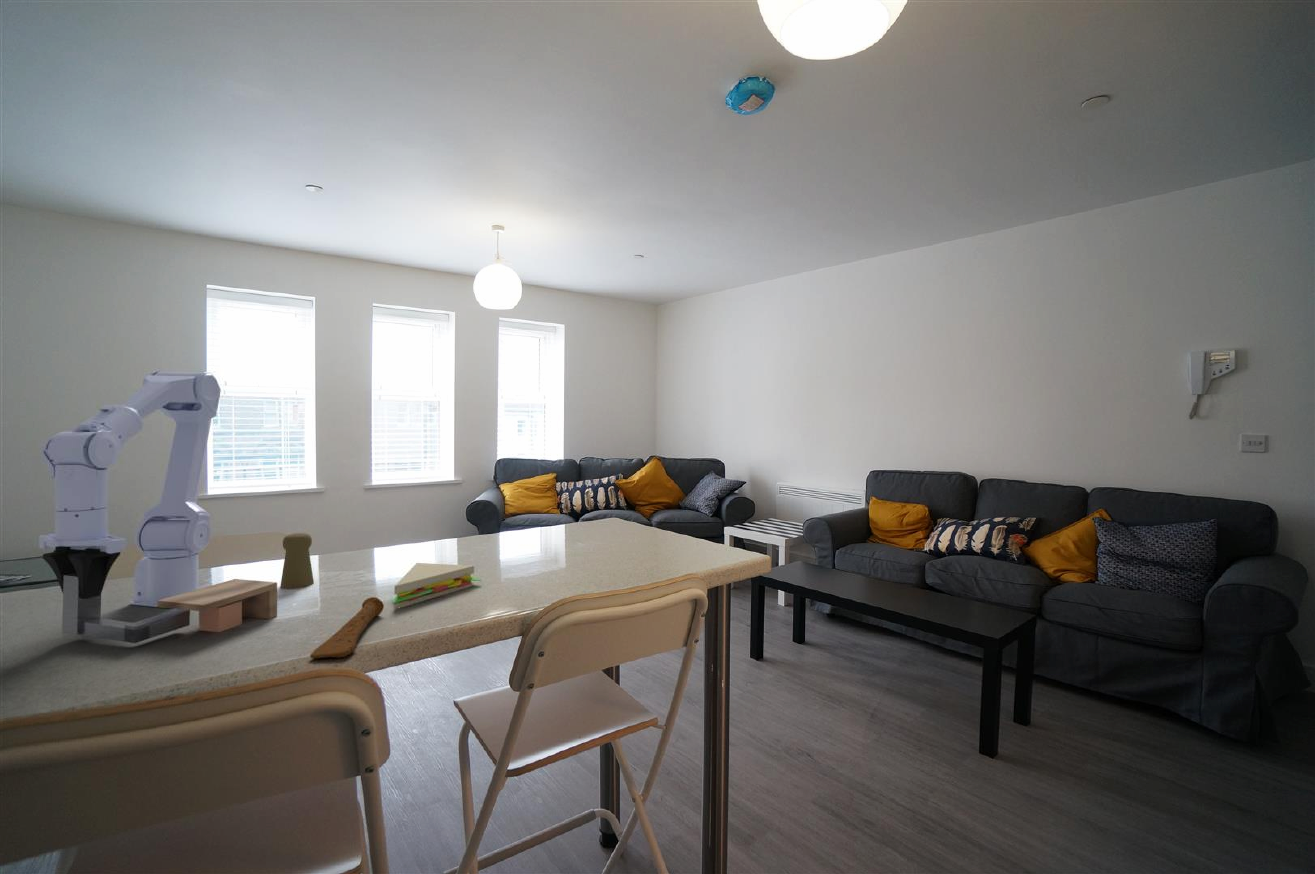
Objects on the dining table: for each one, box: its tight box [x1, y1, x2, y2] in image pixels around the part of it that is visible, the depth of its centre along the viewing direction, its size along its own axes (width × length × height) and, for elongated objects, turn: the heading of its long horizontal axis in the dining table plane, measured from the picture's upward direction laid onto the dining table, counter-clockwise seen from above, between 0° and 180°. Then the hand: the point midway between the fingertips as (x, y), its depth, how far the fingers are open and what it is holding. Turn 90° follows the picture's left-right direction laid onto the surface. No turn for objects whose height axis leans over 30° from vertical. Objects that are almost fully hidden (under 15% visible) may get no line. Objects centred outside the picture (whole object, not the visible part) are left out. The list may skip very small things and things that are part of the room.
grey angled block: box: [61, 573, 191, 644], centre depth 89 cm, size 14×8×9 cm, turn 78°
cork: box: [280, 532, 315, 590], centre depth 118 cm, size 6×6×11 cm
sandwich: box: [392, 562, 482, 610], centre depth 113 cm, size 15×20×5 cm
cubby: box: [156, 578, 278, 620], centre depth 94 cm, size 9×13×6 cm
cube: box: [198, 601, 243, 633], centre depth 94 cm, size 4×4×4 cm
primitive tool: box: [309, 596, 385, 659], centre depth 91 cm, size 19×6×4 cm, turn 6°
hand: (82, 596), depth 87 cm, fingers closed on grey angled block, 3 cm apart
